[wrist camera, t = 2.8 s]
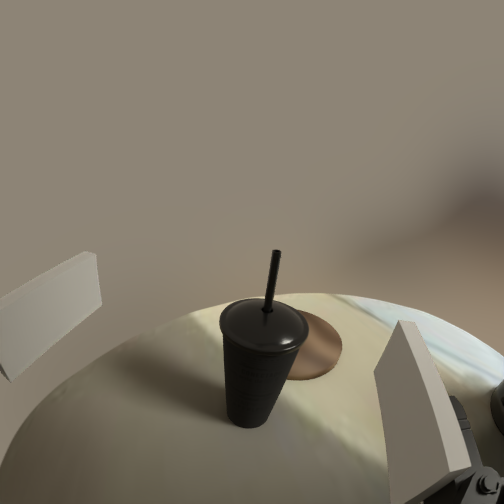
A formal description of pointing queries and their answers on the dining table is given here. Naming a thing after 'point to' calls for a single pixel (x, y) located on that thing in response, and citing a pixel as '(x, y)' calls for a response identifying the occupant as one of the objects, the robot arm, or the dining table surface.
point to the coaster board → (316, 350)
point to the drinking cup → (259, 351)
